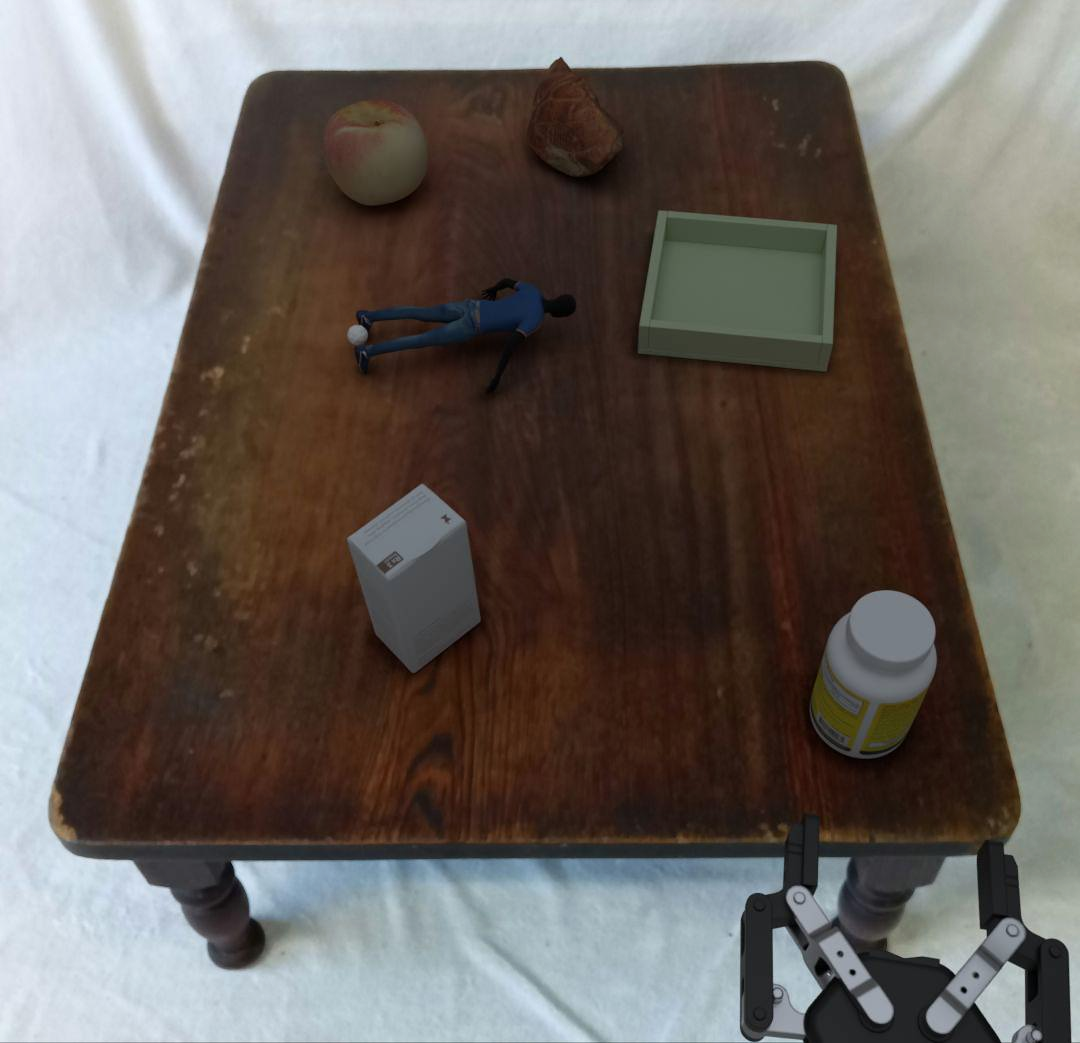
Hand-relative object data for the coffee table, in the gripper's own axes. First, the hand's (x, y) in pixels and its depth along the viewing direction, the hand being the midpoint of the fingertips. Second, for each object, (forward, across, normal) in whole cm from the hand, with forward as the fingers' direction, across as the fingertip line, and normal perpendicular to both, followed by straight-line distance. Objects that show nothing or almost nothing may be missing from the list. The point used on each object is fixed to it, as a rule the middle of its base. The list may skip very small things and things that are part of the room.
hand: (898, 832), depth 58 cm
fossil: (+67, +26, +12) cm, 72 cm away
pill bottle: (+12, 0, +12) cm, 17 cm away
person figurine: (+41, +31, +12) cm, 52 cm away
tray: (+48, +10, +12) cm, 51 cm away
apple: (+59, +42, +12) cm, 73 cm away
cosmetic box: (+15, +28, +12) cm, 34 cm away
